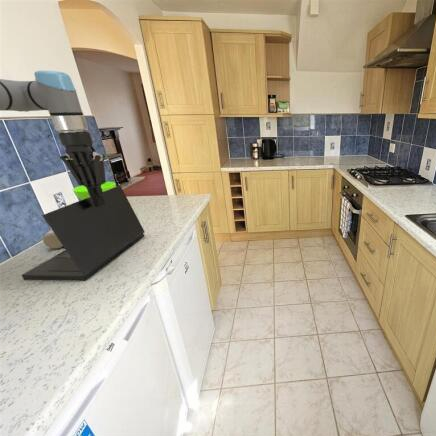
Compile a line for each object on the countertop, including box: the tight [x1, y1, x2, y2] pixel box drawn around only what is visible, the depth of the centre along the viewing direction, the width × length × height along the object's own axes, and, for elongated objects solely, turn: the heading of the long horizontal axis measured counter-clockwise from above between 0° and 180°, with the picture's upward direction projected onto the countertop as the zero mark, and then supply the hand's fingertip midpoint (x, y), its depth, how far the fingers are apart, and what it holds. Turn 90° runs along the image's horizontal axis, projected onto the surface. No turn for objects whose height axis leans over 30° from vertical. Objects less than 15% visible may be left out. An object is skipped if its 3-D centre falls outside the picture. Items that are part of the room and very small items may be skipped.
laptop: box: [21, 233, 145, 282], centre depth 90 cm, size 21×30×2 cm
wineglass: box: [72, 181, 117, 200], centre depth 115 cm, size 16×16×18 cm
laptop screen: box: [41, 185, 146, 276], centre depth 85 cm, size 21×30×1 cm
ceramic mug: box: [42, 228, 64, 250], centre depth 97 cm, size 11×8×8 cm
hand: (100, 205), depth 82 cm, fingers closed
